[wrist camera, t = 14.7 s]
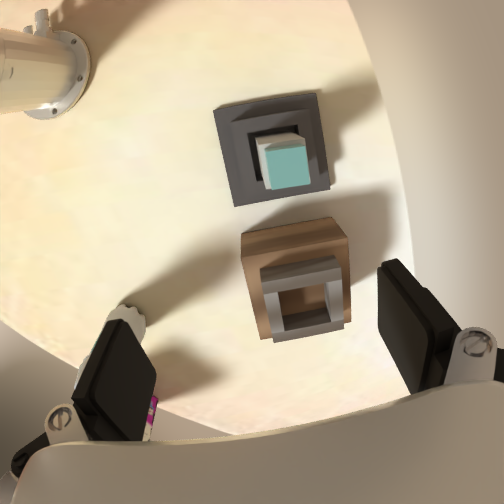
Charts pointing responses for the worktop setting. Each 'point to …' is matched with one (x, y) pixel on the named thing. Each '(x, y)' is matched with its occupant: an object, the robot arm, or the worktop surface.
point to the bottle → (128, 315)
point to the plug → (283, 160)
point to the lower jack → (265, 122)
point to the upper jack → (298, 279)
